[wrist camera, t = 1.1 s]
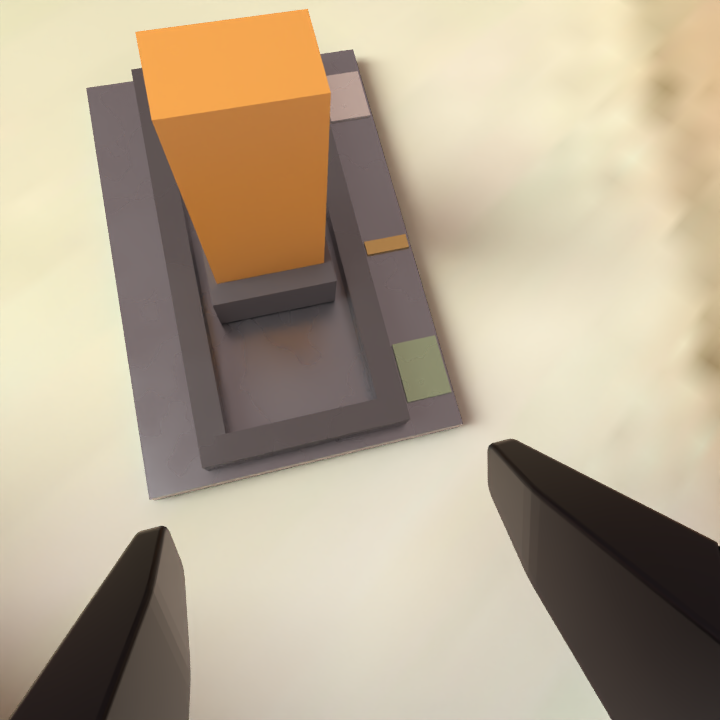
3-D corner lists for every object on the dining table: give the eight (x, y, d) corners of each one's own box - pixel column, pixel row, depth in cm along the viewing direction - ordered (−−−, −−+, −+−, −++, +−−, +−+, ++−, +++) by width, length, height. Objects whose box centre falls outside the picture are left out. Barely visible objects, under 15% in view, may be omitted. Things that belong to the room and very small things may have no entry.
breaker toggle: (334, 300, 24) (351, 120, 13) (220, 323, 23) (143, 153, 13) (312, 213, 25) (312, -19, 14) (203, 233, 24) (117, 5, 14)
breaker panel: (457, 427, 24) (470, 418, 22) (155, 500, 22) (140, 497, 20) (351, 62, 28) (354, 28, 26) (93, 100, 26) (75, 67, 24)
